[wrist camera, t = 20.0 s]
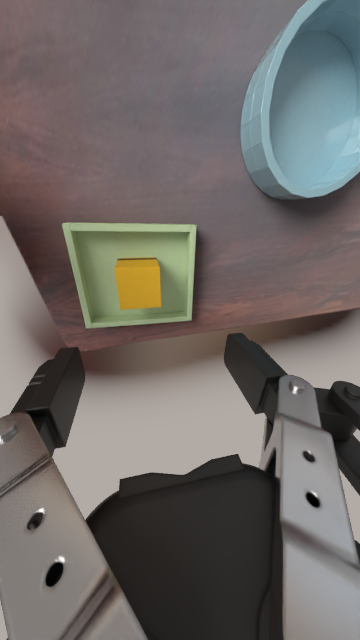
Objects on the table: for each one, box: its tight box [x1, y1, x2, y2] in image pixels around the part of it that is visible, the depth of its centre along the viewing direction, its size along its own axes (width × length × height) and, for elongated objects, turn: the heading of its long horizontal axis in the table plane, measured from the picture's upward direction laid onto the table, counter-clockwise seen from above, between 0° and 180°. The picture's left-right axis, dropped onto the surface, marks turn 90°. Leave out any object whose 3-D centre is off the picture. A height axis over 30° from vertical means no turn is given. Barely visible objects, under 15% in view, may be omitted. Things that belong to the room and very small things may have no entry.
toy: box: [115, 257, 162, 310], centre depth 26 cm, size 5×5×6 cm
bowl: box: [241, 0, 360, 200], centre depth 22 cm, size 16×16×4 cm
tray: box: [62, 222, 197, 328], centre depth 28 cm, size 16×14×2 cm
